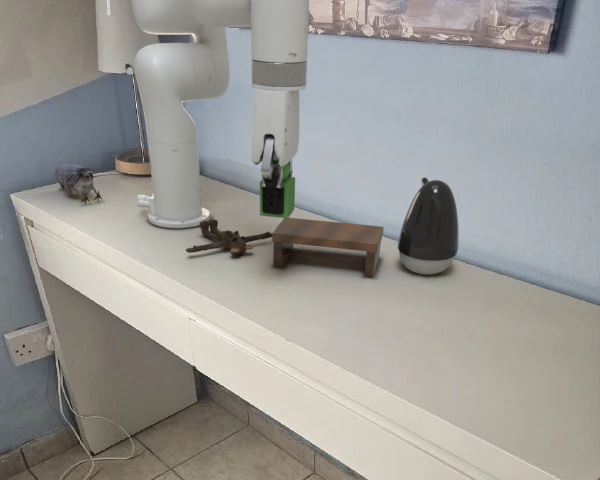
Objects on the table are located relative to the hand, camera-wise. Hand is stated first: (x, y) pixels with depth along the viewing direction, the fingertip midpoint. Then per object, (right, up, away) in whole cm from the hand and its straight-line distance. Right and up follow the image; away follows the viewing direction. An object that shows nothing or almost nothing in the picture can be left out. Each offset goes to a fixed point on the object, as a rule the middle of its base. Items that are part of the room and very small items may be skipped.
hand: (277, 206), depth 95 cm
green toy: (0, -1, 0) cm, 1 cm away
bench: (+8, -5, +15) cm, 18 cm away
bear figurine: (-11, -1, +21) cm, 23 cm away
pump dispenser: (+25, -7, +14) cm, 30 cm away
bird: (-47, +16, +45) cm, 67 cm away
